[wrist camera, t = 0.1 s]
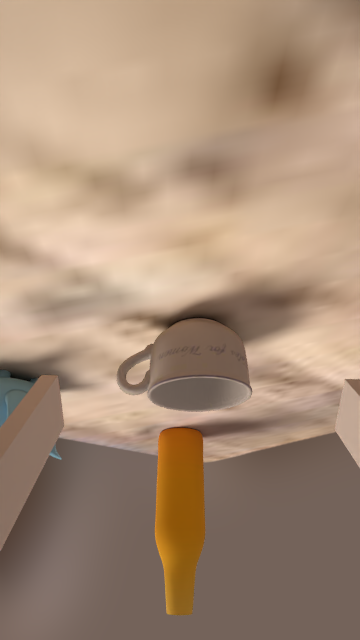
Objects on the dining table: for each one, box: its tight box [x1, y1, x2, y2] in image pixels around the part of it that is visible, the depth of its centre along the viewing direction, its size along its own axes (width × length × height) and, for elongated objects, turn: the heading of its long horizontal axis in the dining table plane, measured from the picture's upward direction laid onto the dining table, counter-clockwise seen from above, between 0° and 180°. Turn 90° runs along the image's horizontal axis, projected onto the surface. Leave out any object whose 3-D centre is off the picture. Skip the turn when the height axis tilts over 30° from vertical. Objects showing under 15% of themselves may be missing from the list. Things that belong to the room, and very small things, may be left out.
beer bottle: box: [155, 428, 205, 615], centre depth 64 cm, size 9×9×29 cm
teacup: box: [117, 318, 252, 412], centre depth 37 cm, size 14×11×8 cm
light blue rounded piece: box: [0, 370, 62, 459], centre depth 49 cm, size 13×13×10 cm
